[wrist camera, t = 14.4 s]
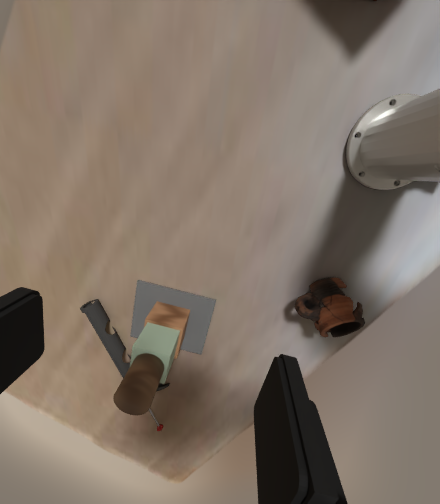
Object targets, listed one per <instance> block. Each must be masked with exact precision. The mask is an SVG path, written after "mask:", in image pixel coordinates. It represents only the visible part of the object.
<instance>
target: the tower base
mask: <svg viewBox="0 0 440 504" xmlns="http://www.w3.org/2000/svg"><path fill="white" fill-rule="evenodd" d="M189 314H190V310H189V309H185V308H181V307H177V306H173V305H170V304H166V303H162V302H158V301H157V302H156V304H155V305H154V307H153V308H152V310H151V311H150V313H149V314H148V316H147V317H146V319H145V324H144V327H145V326H146V324H147V323H148V322H149V323H153V324H156V325H160V326H164V327H168V328H172V329H176V330H180V334H179V339H178V343H177V348H176V352H175V357H174V358H176V359H177V357H178V354H179V351H180V348H181V345H182V342H183V339H184V336H185V332H186V327H187V323H188V318H189Z"/></svg>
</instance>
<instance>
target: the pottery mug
mask: <svg viewBox="0 0 440 504" xmlns="http://www.w3.org/2000/svg"><path fill="white" fill-rule="evenodd" d="M346 287H347V286H346V285H345V284H344V283H343V282H342V281H341V279H339V278H326V279H322V280H318V281H316V282H314V283H313V284H311V285H310V289H311V293H306V294H305V295H303V296H300V297H299V298H298V299H297V301H296V303H295V309H296V311H297V313H298V314H299V315H300V316H302V317H304V318H307V319H311V320H312V321H315V327H316V329H317V330H319V331H320V335H321V336H323V337H328V334H327V332H331V334H332V337H340V336H344V335H347V334H350V333H352V332H355V331H357V330H359V329H360V328H362V327H363V326H364V324H365V321H364V318H362V314H363V310H362V305H361V304H360V303H359V302H357V307H356V309H355V310H354V311H353V301H352V300H351V298H350V297H347V296H345V294H344V293H343V291H342V290H341V289H340V288H346ZM320 302H322V303H323V304H324V307H322V308H320V306H319V303H320ZM304 305H305V306H304Z"/></svg>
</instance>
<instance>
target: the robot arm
mask: <svg viewBox="0 0 440 504" xmlns="http://www.w3.org/2000/svg"><path fill="white" fill-rule="evenodd" d="M389 103H390V105H389ZM355 134H356V138H355ZM346 159H347V165H348V168H349V170H350V172H351V174H352V175H353V177H354V178H355V179H356V180H357V181H358V182H359V183H361V184H362V185H364V186H366V187H369V188H372V189H378V190H390V189H396V188H399V187H402V186H405V185H407V184H409V183H411V182H413V181H431V182H440V89H438V90H435V91H433V92H431V93H428V94H426V95H423V96H419V95H415V94H399V95H395V96H392V97H389V98H386V99H384V100H382V101H380V102H379V103H377V104H375V105H373V106H372V107H371V108H370V109H368V110H367V111H366V112H365V113H364V114H363V115H362V116H361V117H360V118H359V120H358V121H357V123H356V124H355V126H354V127H353V129H352V131H351V133H350V136H349V139H348V143H347V148H346ZM359 172H360V175H359ZM394 182H395V183H394ZM43 352H44V325H43V301H42V297H41V296H40V293H39V292H38V291H35V290H31V289H27V288H24V287H20V288H17V289H15V290H13V291H11V292H9V293H7V294H5V295H3V296H1V297H0V394H1V393H2V392H3V391H4V390H5V389H6V388H8V387H9V386H10V385H11V384H12V383H13V382H14V381H15V380H16V379H17V378H18V377H20V376H21V375H22V374H23V373H24V372H25V371H26V370H27V369H28V368H29V367H30V366H31V365H33V364H34V363H35V362H36V361H37V360H38V359H39V358H40V357H41V355H42V354H43ZM254 428H255V446H256V466H257V486H258V504H347V501H346V498H345V495H344V491H343V488H342V485H341V482H340V479H339V476H338V473H337V469H336V466H335V463H334V460H333V457H332V454H331V451H330V448H329V445H328V441H327V438H326V435H325V432H324V429H323V426H322V423H321V420H320V417H319V414H318V410H317V408H316V405H315V404H314V402H313V401H311V400H309V398H308V394H307V391H306V388H305V384H304V381H303V378H302V374H301V371H300V367H299V364H298V361H297V359H296V358H295V357H291V356H287V355H283V354H281V355H280V356H279V357H275V358H274V359H273V362H272V364H271V367H270V369H269V371H268V374H267V376H266V379H265V381H264V383H263V386H262V388H261V391H260V393H259V395H258V398H257V400H256V403H255V406H254Z"/></svg>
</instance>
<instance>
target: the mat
mask: <svg viewBox="0 0 440 504" xmlns="http://www.w3.org/2000/svg"><path fill="white" fill-rule="evenodd" d="M157 301H158V302H162V303H166V304H170V305H173V306H177V307H181V308H185V309H189V310H190V314H189V318H188V323H187V327H186V332H185V336H184V339H183V342H182V345H181V348H180V349H181V350H185V351H189V352H193V353H197V354H202V350H203V347H204V343H205V339H206V336H207V332H208V328H209V325H210V321H211V317H212V313H213V310H214V306H215V302H216V300H215V299H211V298H207V297H203V296H199V295H195V294H191V293H188V292H184V291H180V290H176V289H172V288H168V287H164V286H160V285H156V284H153V283H149V282H145V281H141V280H138V281H137V288H136V296H135V304H134V312H133V320H132V328H131V337H135V338H138V337H139V335H140V334H141V332H142V331H143V329H144V324H145V319H146V317H147V316H148V314H149V313H150V311H151V310H152V308H153V307H154V305H155V304H156V302H157Z"/></svg>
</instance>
